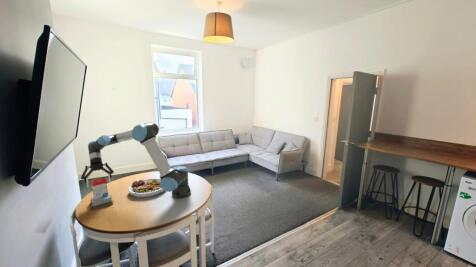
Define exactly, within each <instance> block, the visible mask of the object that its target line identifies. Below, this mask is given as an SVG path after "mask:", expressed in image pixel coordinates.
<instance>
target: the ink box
mask: <svg viewBox="0 0 476 267" xmlns="http://www.w3.org/2000/svg"><path fill="white" fill-rule="evenodd" d="M107 183H108V182H107V179H106V177H101V178H98V179H97V178H96V179H94V180H93V181H92V182H91V190H92V196H93V198H94V199H95V200H96V199H99V198H102V197H105V196H108V193H109V190H108V184H107Z"/></svg>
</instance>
